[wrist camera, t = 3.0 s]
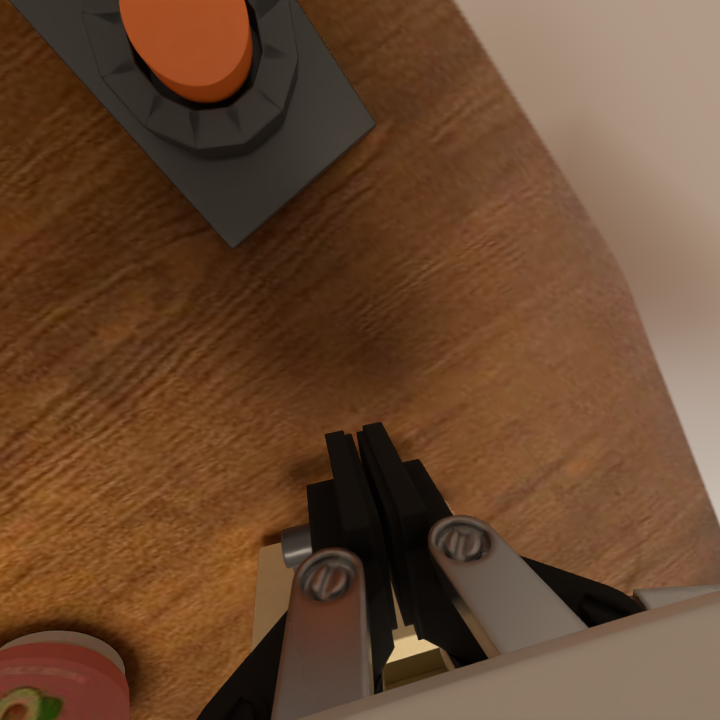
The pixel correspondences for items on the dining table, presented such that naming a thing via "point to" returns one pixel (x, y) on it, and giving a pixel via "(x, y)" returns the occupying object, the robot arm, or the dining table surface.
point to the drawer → (273, 601)
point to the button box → (219, 109)
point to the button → (192, 44)
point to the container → (62, 678)
